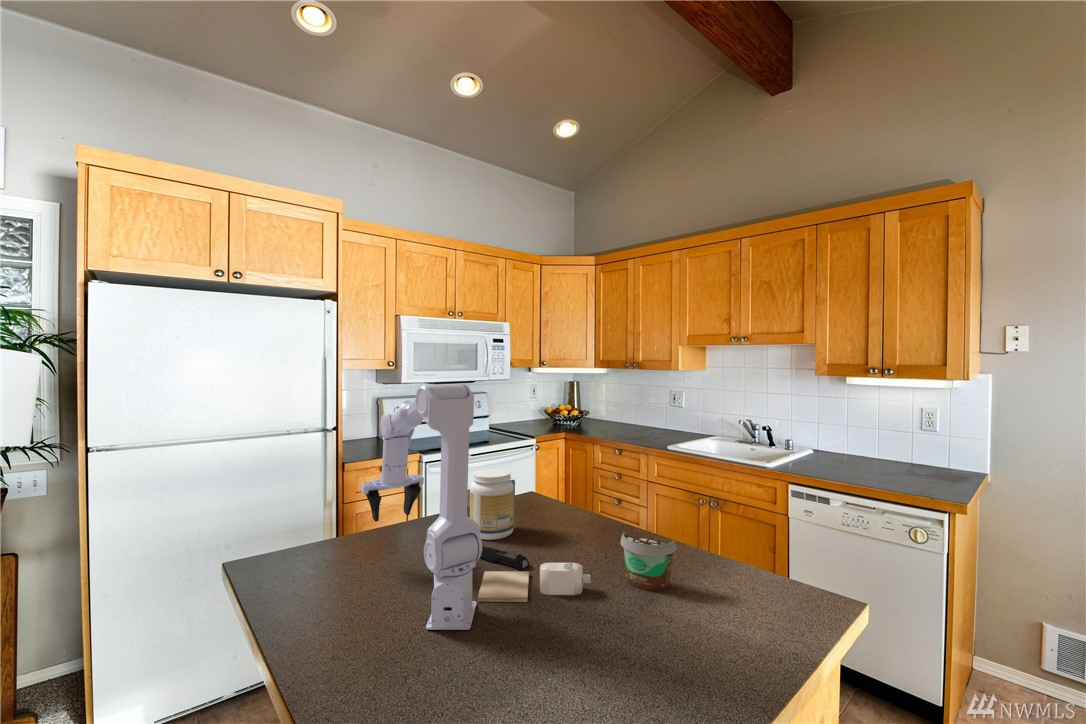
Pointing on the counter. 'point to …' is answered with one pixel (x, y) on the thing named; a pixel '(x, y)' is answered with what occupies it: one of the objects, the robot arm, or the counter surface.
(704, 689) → the counter surface
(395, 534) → the counter surface
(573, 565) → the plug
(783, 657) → the counter surface
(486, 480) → the supplement tub
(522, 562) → the electric trimmer
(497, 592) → the cutting board
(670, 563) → the food container
